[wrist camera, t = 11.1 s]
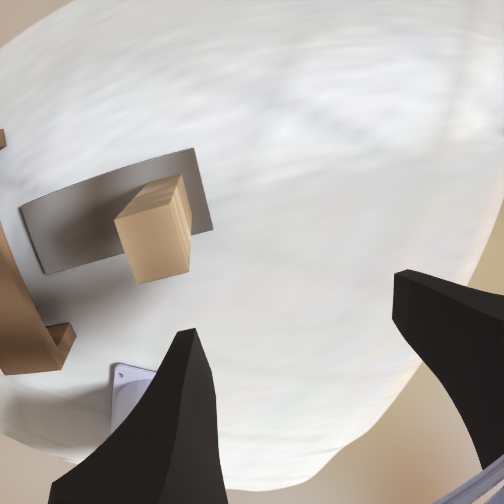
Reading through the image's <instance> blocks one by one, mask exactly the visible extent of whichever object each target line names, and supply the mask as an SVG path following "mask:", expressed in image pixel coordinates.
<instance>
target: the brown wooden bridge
mask: <svg viewBox="0 0 504 504" xmlns="http://www.w3.org/2000/svg"><path fill="white" fill-rule="evenodd" d="M5 146H6V140H5V135H4V129H0V149H1V148H3V147H5ZM75 338H76V334H75V332H74V330H73V328H72V327H71V325H70V323H68V324H63V325H58V326H53V327H48V328H46V327H45V325H44V323H43V321H42V319H41V317H40V315H39V313H38V311H37V309H36V307H35V305H34V303H33V301H32V299H31V297H30V295H29V293H28V290H27V288H26V286H25V284H24V282H23V279H22V277H21V275H20V272H19V270H18V268H17V265H16V263H15V260H14V258H13V255H12V253H11V250H10V247H9V245H8V242H7V239H6V237H5V234H4V231H3V228H2V225H1V222H0V369H1V370H2V372H3V373H4V375H17V374H28V373H38V372H48V371H57V370H61V369H62V367H63V365H64V362H65V360H66V358H67V356H68V353H69V351H70V349H71V347H72V345H73V342H74V340H75Z"/></svg>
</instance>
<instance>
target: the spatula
mask: <svg viewBox="0 0 504 504" xmlns="http://www.w3.org/2000/svg"><path fill="white" fill-rule="evenodd" d="M21 209H22V212H23V216H24V219H25V222H26V224H27V227H28V230H29V233H30V236H31V238H32V241H33V244H34V246H35V249H36V252H37V254H38V257H39V259H40V262H41V264H42V266H43V269H44V271H45V274H46V275H49V274H52V273H56V272H59V271H63V270H66V269H69V268H73V267H76V266H80V265H83V264H87V263H90V262H94V261H98V260H101V259H105V258H108V257H112V256H115V255H119V254H123V253H125V254H126V257H127V260H128V263H129V265H130V268H131V271H132V274H133V276H134V279H135V281H136V284H137V285H138V284H142V283H146V282H150V281H155V280H159V279H163V278H167V277H171V276H175V275H179V274H183V273H187V272H189V263H190V241H191V235H195V234H199V233H203V232H207V231H211V230H213V225H212V221H211V217H210V213H209V209H208V205H207V201H206V197H205V193H204V189H203V184H202V180H201V176H200V172H199V168H198V163H197V159H196V155H195V150H194V148H191V149H187V150H183V151H179V152H175V153H171V154H168V155H164V156H160V157H157V158H153V159H150V160H147V161H143V162H140V163H136V164H133V165H130V166H127V167H124V168H120V169H117V170H114V171H111V172H108V173H105V174H102V175H99V176H96V177H94V178H91V179H88V180H85V181H82V182H79V183H77V184H74V185H71V186H69V187H66V188H63V189H61V190H58V191H56V192H53V193H51V194H48V195H46V196H43V197H41V198H38V199H36V200H34V201H31V202H29V203H26V204H25V205H23V206H21Z"/></svg>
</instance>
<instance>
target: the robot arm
mask: <svg viewBox="0 0 504 504" xmlns="http://www.w3.org/2000/svg"><path fill="white" fill-rule="evenodd" d="M392 320H393V321H394V323H395V325H396V326H397V328H398V330H399V331H400V333H401V334H402V336H403V337H404V339H405V340H406V341H407V342H408V344H409V345H410V346H411V347H412V348H413V350H414V351H415V352H416V353H417V354H418V355H419V357H420V358H421V359H422V360H423V361H424V362H425V364H426V365H427V366H428V367H429V368H430V369H431V371H432V372H433V373H434V374H435V375H436V377H437V378H438V379H439V380H440V382H441V383H442V385H443V386H444V388H445V389H446V391H447V393H448V394H449V396H450V397H451V399H452V400H453V402H454V404H455V406H456V408H457V410H458V411H459V413H460V415H461V417H462V419H463V421H464V423H465V425H466V427H467V429H468V432H469V434H470V436H471V438H472V441H473V444H474V446H475V449H476V452H477V454H478V457H479V460H480V463H481V466H482V469H483V471H481V472H480V473H479V474H477V475H476V476H475V477H473V478H472V479H470V480H469V481H467V482H466V483H464V484H463V485H461V486H460V487H458V488H457V489H455V490H454V491H452V492H450V493H449V494H447V495H446V496H444V497H442V498H440V499H439V500H437V501H435V502H434V503H432V504H471V503H473V502H474V501H476V500H477V499H478V498H480V497H481V496H482V495H484V494H485V493H486V492H488V491H489V490H490V489H492V488H493V487H494V486H496V485H497V484H498V483H499V482H501V481H502V480H503V479H504V296H503V295H498V294H492V293H488V292H484V291H480V290H477V289H473V288H469V287H466V286H462V285H459V284H456V283H453V282H450V281H446V280H443V279H440V278H437V277H434V276H431V275H428V274H424V273H421V272H417V271H413V270H408V269H407V270H404V271H401V272H398V273H395V274H394V294H393V311H392ZM119 373H121V374H122V375H120V374H119ZM48 504H228V500H227V495H226V491H225V486H224V481H223V476H222V471H221V465H220V458H219V449H218V430H217V410H216V395H215V389H214V383H213V377H212V371H211V369H210V366H209V363H208V361H207V358H206V356H205V353H204V350H203V347H202V345H201V342H200V339H199V336H198V334H197V331H196V328H193V329H188V330H183V331H179V332H177V334H176V335H175V337H174V339H173V341H172V343H171V346H170V348H169V350H168V352H167V354H166V355H165V357H164V359H163V361H162V363H161V365H160V367H159V369H158V370H157V372H153V371H149V370H144V369H140V368H136V367H131V366H127V365H123V364H117V365H116V367H115V371H114V383H113V395H112V411H111V431H110V436H109V437H108V438H107V440H106V441H105V442H104V443H103V444H101V445H100V446H99V447H98V448H97V449H96V450H95V451H94V452H93V453H92V454H91V455H89V456H88V457H87V458H86V459H85V460H83V461H82V462H81V463H80V464H78V465H77V466H76V467H75V468H73V469H72V470H70V471H69V472H68V473H66V474H65V475H63V476H62V477H60V478H59V479H57V480H56V481H54V482H53V483H52V486H51V490H50V495H49V500H48ZM484 504H504V486H503V487H502V488H501V489H500V490H499V491H498V492H497V493H496V494H495V495H493V496H492V497H491V498H490V499H489V500H488V501H486V502H485V503H484Z"/></svg>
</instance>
